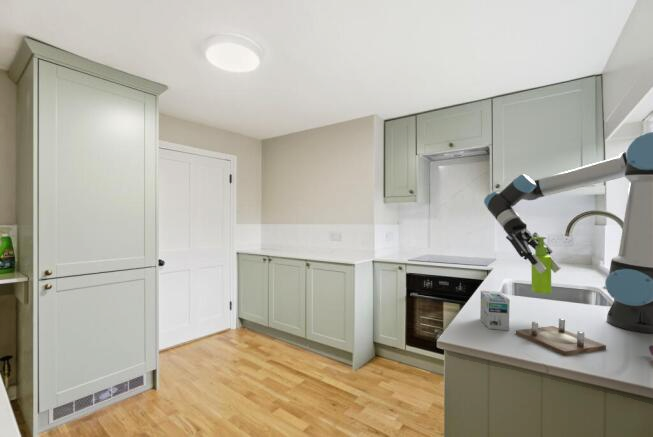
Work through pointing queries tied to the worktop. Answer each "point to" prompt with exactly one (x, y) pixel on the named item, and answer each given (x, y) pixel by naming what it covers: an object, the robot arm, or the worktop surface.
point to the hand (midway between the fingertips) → (550, 270)
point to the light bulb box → (494, 310)
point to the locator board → (560, 339)
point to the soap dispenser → (543, 280)
